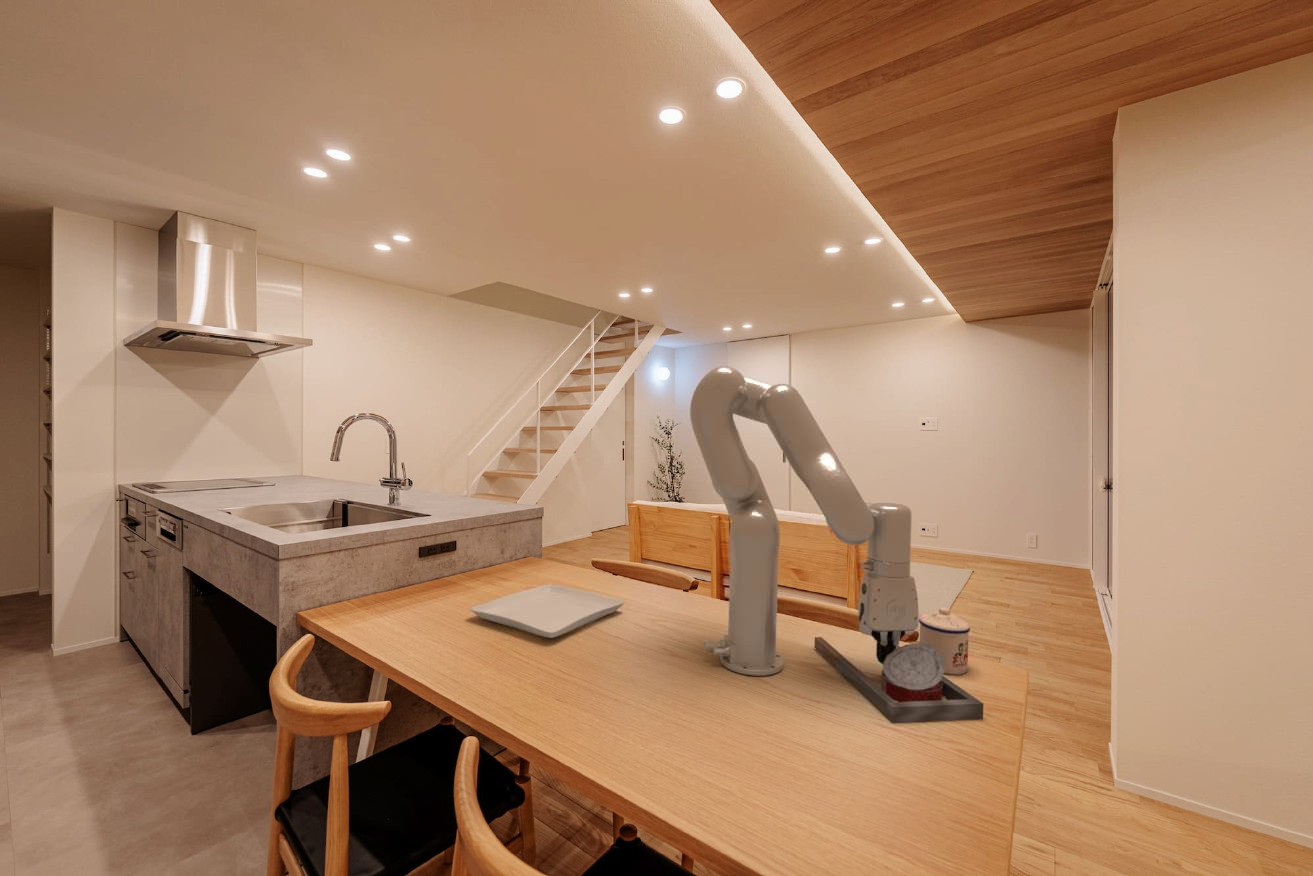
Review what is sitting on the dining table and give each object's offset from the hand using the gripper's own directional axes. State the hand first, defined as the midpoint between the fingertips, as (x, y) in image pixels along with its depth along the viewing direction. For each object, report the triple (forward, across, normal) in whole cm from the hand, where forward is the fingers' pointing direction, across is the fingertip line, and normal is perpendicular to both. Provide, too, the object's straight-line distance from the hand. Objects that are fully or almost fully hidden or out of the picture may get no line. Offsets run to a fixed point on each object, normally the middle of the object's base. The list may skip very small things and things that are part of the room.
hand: (885, 663), depth 101 cm
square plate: (+3, -66, +37) cm, 76 cm away
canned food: (+3, +1, -6) cm, 7 cm away
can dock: (+3, 0, -1) cm, 3 cm away
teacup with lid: (+3, +16, +5) cm, 17 cm away
